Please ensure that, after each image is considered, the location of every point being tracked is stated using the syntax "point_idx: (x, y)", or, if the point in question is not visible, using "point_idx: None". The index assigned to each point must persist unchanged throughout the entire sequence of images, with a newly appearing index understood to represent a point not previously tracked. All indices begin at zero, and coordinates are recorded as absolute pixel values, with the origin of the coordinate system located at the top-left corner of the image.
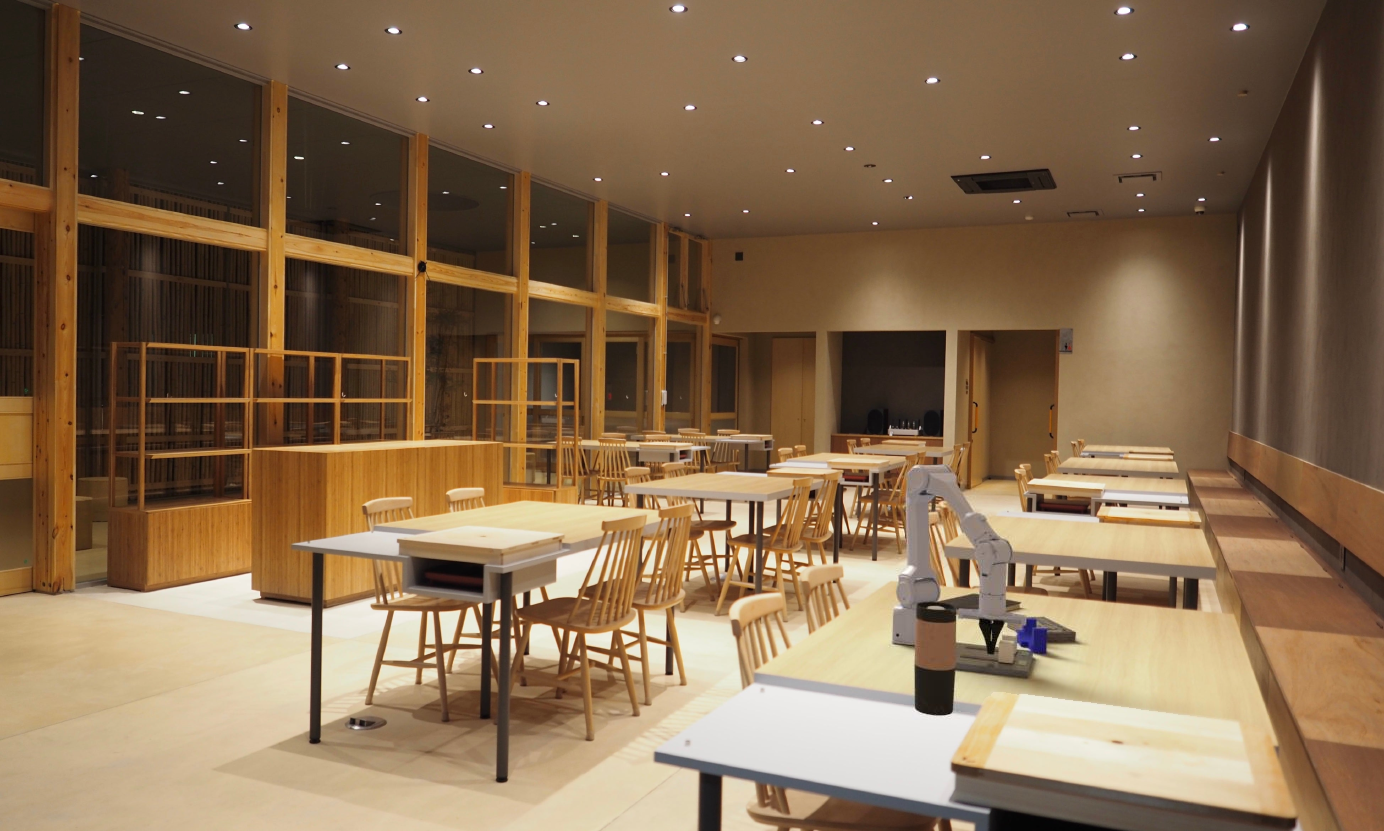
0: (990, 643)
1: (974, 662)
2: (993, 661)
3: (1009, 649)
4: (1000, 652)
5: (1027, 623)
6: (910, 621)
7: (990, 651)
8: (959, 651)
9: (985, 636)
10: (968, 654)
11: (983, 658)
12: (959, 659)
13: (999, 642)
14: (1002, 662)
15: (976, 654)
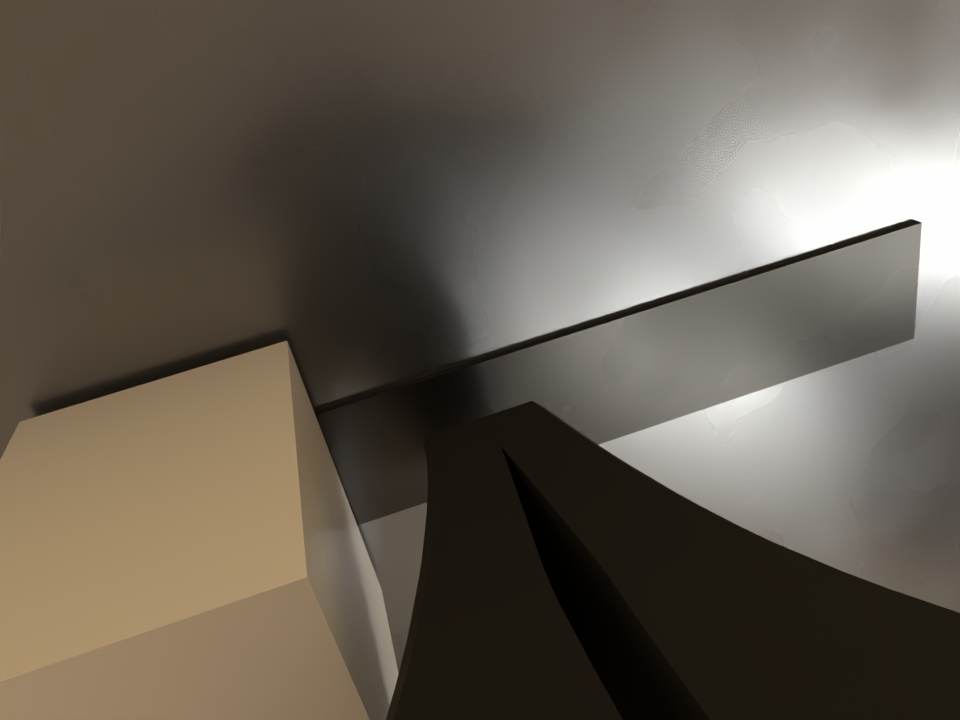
0: (572, 601)
1: (649, 18)
2: (385, 341)
3: (11, 588)
4: (252, 455)
5: None
6: None
7: (493, 437)
8: (940, 480)
9: (781, 584)
10: (820, 436)
11: (579, 372)
12: (917, 34)
13: (356, 700)
14: None
15: (723, 513)
